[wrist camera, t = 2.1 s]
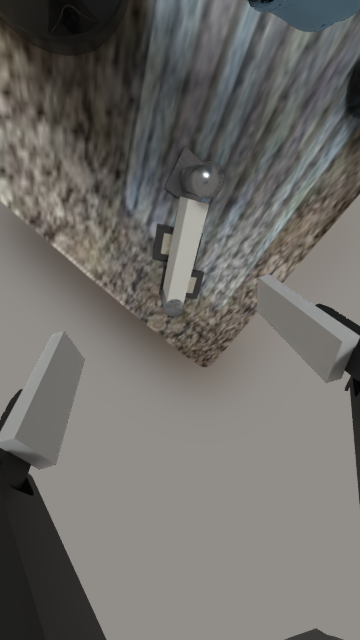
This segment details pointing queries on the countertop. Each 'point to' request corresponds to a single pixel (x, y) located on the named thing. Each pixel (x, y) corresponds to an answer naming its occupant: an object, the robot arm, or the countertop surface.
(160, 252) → the label plate
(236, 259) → the countertop surface
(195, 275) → the label plate
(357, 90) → the supplement bottle
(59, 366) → the robot arm
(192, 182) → the pivot post
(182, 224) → the swing bar
